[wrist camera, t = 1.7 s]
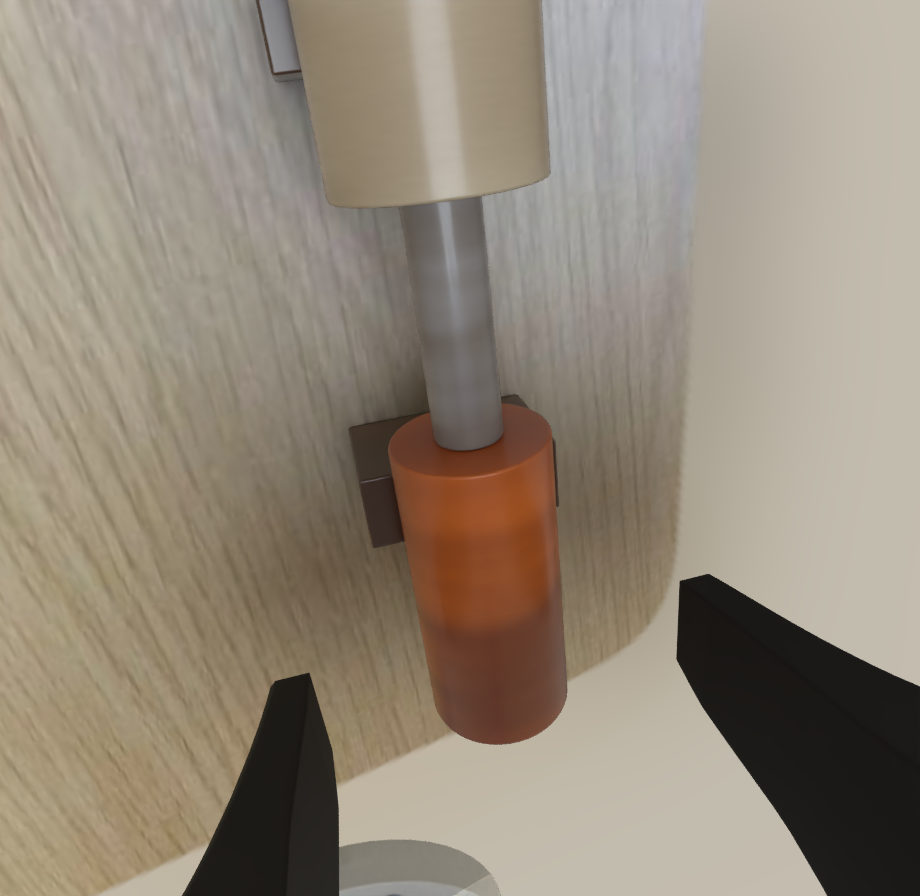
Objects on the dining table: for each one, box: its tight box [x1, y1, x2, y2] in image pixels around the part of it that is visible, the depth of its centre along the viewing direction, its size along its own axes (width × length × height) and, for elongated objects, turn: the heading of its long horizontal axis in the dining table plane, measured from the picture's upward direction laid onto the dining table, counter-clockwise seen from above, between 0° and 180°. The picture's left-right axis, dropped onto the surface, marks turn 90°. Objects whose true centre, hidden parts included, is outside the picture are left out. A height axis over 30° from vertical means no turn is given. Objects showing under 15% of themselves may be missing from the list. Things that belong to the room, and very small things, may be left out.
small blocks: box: [256, 0, 559, 548], centre depth 13 cm, size 10×4×3 cm, turn 7°
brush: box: [288, 0, 567, 745], centre depth 11 cm, size 15×3×3 cm, turn 7°
